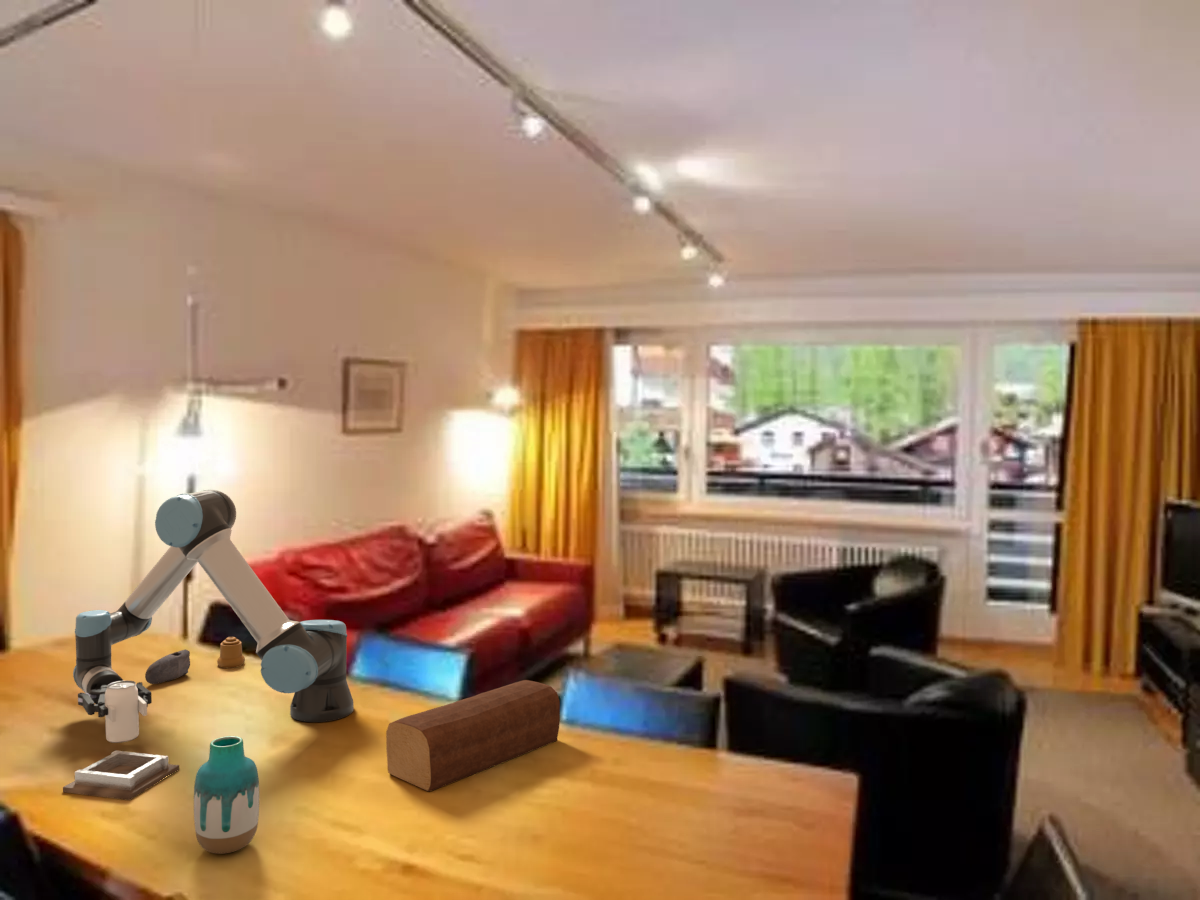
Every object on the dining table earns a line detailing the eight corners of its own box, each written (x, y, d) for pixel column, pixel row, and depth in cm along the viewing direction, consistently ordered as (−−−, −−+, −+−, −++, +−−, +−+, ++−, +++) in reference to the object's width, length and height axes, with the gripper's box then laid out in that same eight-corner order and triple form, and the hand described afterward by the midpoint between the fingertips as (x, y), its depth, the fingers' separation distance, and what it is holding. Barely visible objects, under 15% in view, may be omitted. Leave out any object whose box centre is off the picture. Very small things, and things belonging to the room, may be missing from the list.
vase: (206, 834, 167) (205, 730, 166) (266, 833, 168) (266, 729, 166) (184, 864, 156) (183, 753, 155) (249, 862, 157) (248, 752, 156)
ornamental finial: (248, 665, 269) (222, 670, 264) (239, 659, 275) (213, 664, 270) (248, 638, 269) (222, 642, 264) (239, 633, 274) (213, 637, 269)
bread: (561, 742, 215) (562, 685, 214) (430, 796, 185) (430, 730, 184) (515, 726, 224) (515, 672, 224) (382, 774, 195) (383, 712, 194)
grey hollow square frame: (168, 767, 193) (168, 756, 193) (130, 790, 182) (130, 778, 182) (115, 762, 196) (115, 750, 195) (74, 784, 184) (74, 771, 184)
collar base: (179, 769, 195) (179, 765, 195) (129, 800, 180) (129, 795, 180) (116, 762, 198) (116, 758, 198) (62, 792, 183) (62, 787, 183)
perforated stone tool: (152, 689, 246) (152, 663, 246) (138, 686, 248) (137, 661, 248) (197, 674, 260) (196, 649, 260) (183, 671, 262) (183, 647, 262)
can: (124, 744, 199) (123, 690, 199) (99, 741, 201) (97, 687, 200) (145, 734, 206) (144, 681, 205) (121, 731, 207) (119, 678, 206)
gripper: (146, 694, 223) (175, 720, 205) (59, 710, 211) (81, 739, 193) (145, 663, 222) (174, 686, 205) (58, 678, 210) (81, 704, 193)
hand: (129, 712), depth 199 cm, fingers closed on can, 5 cm apart
